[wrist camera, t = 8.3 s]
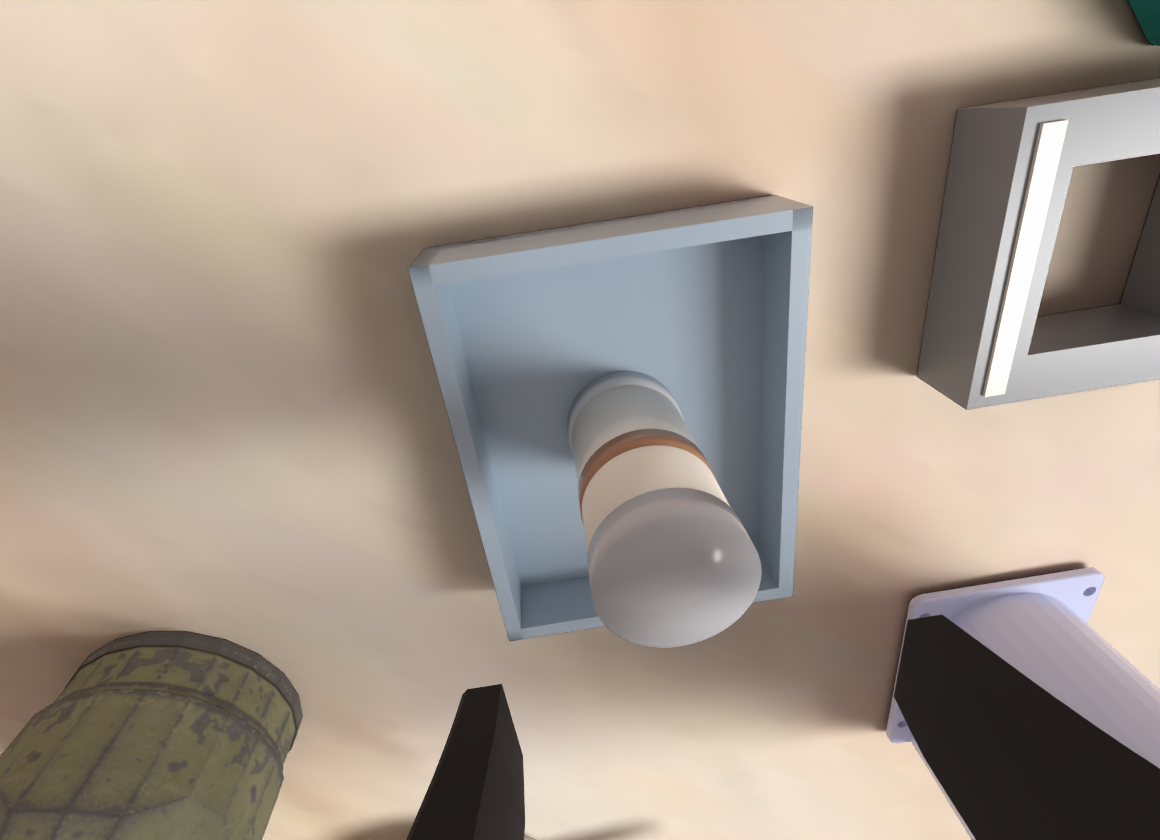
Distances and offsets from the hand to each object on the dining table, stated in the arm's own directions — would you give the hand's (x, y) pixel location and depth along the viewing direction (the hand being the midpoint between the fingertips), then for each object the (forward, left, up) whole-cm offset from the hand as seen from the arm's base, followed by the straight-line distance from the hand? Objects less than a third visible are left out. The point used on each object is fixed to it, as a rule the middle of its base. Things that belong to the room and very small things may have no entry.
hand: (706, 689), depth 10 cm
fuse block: (+4, -14, -10) cm, 18 cm away
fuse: (0, 0, -10) cm, 10 cm away
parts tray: (0, 0, -10) cm, 10 cm away
